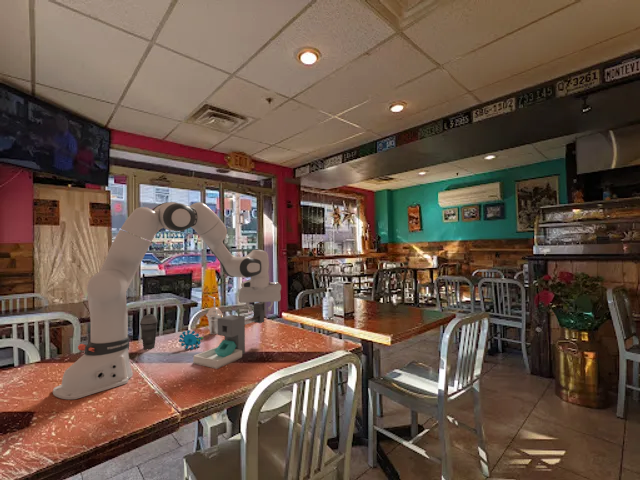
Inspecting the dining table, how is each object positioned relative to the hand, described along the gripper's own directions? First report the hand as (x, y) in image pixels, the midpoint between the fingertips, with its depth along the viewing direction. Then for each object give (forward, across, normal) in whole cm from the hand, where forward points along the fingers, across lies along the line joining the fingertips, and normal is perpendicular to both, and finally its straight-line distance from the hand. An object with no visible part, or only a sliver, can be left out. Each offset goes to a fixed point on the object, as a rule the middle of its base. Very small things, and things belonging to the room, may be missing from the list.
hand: (260, 311), depth 153 cm
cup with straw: (+15, +25, -21) cm, 36 cm away
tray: (+15, +16, +22) cm, 31 cm away
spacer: (+13, +15, +20) cm, 29 cm away
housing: (+15, +12, +16) cm, 25 cm away
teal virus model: (+15, +32, +2) cm, 35 cm away
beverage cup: (+15, +51, -1) cm, 53 cm away
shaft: (+5, +6, +8) cm, 11 cm away
